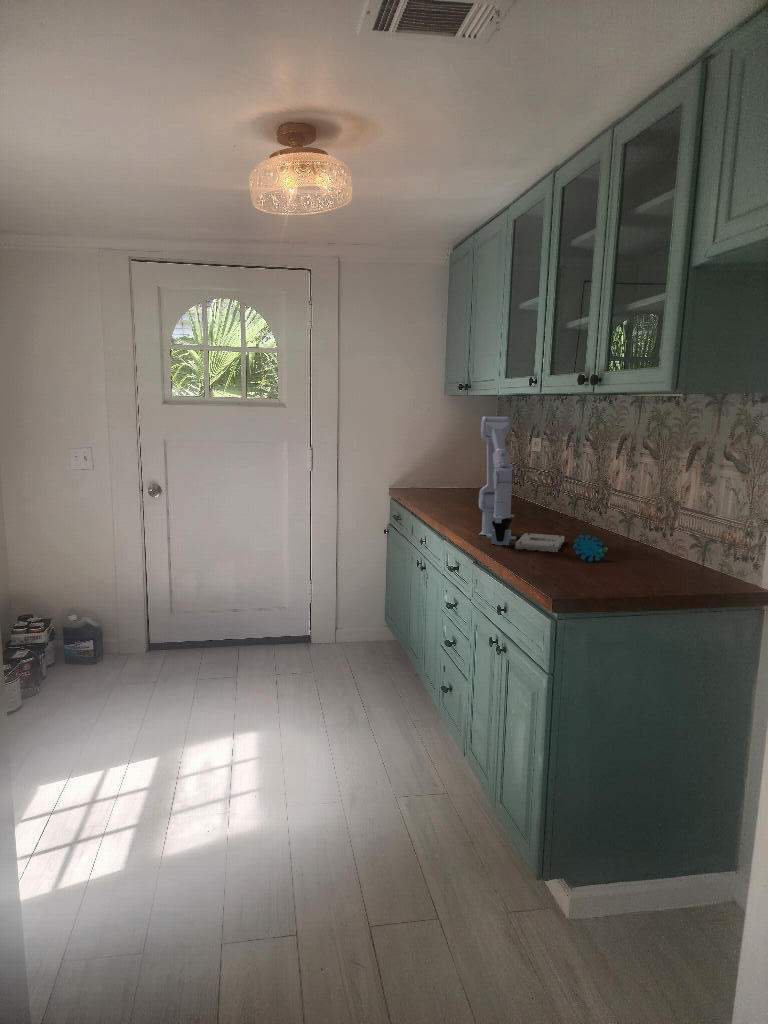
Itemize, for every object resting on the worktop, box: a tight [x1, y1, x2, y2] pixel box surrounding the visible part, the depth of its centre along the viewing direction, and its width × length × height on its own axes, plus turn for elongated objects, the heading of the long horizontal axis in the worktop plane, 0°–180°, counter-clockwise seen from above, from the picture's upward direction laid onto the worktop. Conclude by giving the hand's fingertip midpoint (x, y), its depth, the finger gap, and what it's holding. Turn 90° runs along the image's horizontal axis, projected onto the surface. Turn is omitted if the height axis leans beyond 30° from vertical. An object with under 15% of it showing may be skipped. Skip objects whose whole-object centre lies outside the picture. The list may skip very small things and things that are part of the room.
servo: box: [486, 529, 517, 547], centre depth 238 cm, size 4×10×5 cm, turn 69°
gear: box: [573, 534, 609, 563], centre depth 217 cm, size 11×6×10 cm
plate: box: [514, 532, 565, 553], centre depth 238 cm, size 20×14×2 cm
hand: (501, 540), depth 239 cm, fingers closed on servo, 4 cm apart
